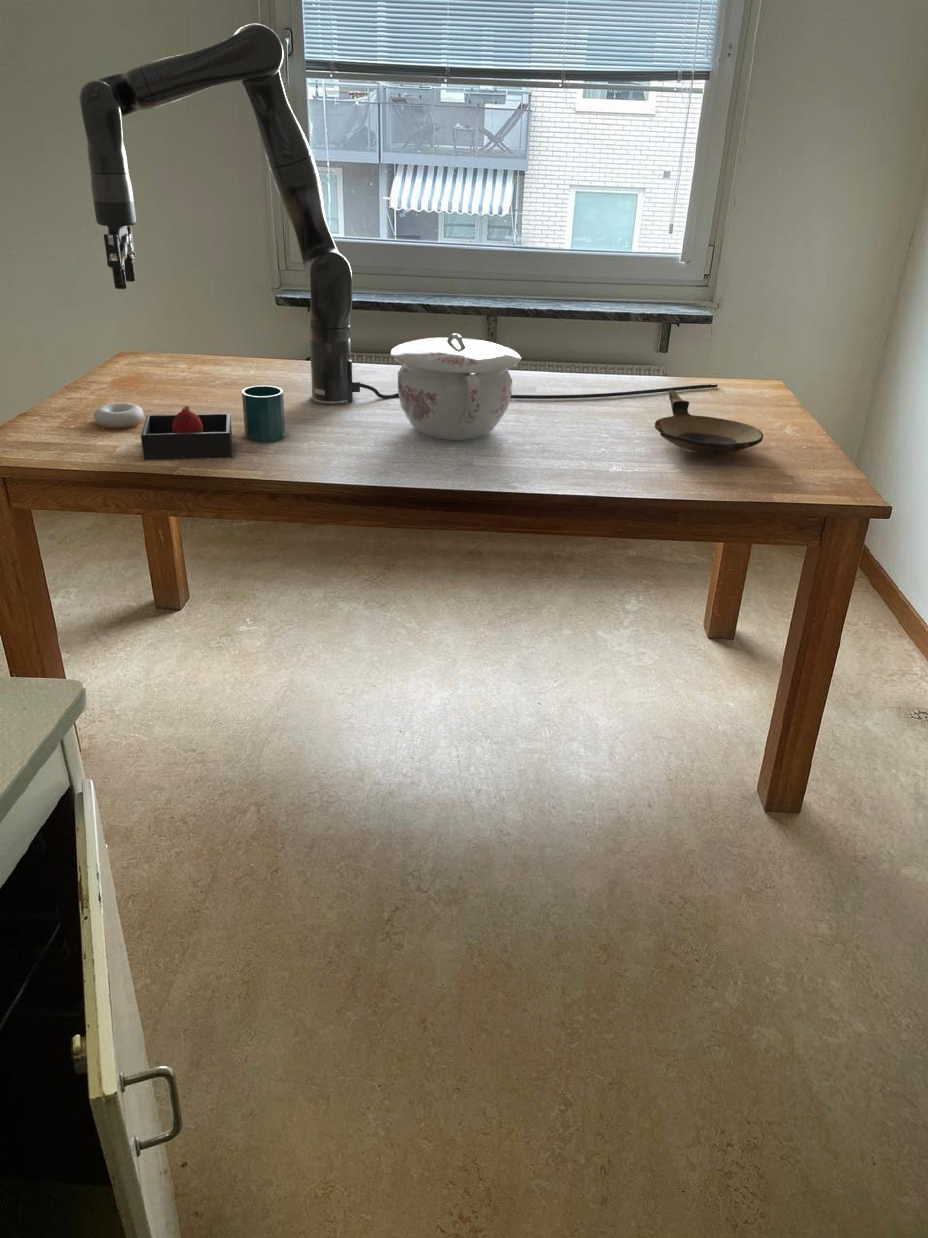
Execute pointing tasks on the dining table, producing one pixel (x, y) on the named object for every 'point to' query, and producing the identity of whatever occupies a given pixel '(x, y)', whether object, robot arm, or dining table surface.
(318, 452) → the dining table surface
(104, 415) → the donut
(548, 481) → the dining table surface
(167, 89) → the robot arm
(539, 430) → the dining table surface
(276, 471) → the dining table surface
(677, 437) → the frying pan
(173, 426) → the onion
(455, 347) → the chamber pot
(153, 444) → the black open box
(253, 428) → the cup
